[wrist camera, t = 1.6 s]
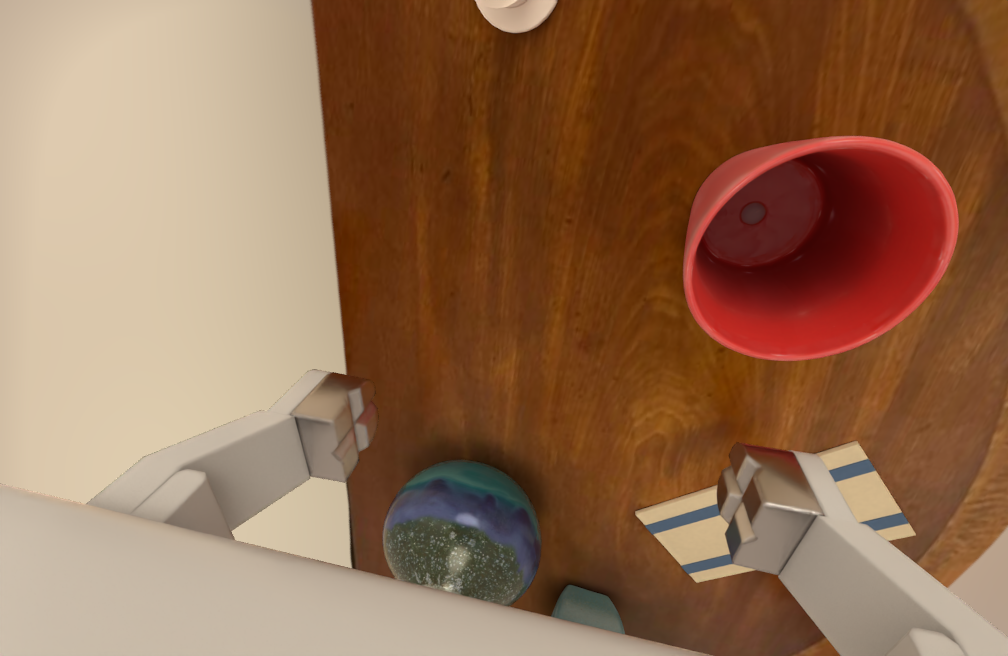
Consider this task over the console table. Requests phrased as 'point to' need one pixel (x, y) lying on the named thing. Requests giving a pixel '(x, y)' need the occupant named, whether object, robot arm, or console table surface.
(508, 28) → the candle
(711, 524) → the cloth
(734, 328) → the flower pot
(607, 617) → the flower pot
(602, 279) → the console table surface
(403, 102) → the console table surface
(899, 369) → the console table surface
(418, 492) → the vase
